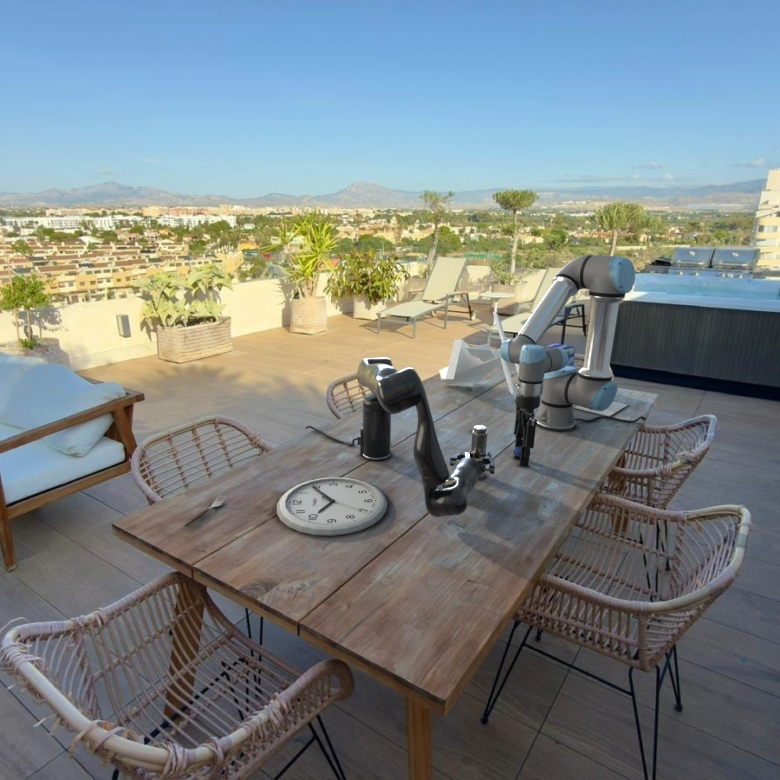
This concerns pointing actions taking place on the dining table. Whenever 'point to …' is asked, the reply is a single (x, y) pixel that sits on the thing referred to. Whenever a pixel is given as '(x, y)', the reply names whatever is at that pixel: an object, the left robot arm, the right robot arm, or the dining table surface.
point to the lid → (517, 451)
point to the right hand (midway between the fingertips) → (520, 461)
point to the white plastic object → (476, 362)
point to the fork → (215, 504)
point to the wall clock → (331, 506)
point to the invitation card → (609, 411)
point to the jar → (479, 443)
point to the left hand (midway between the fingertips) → (480, 453)
